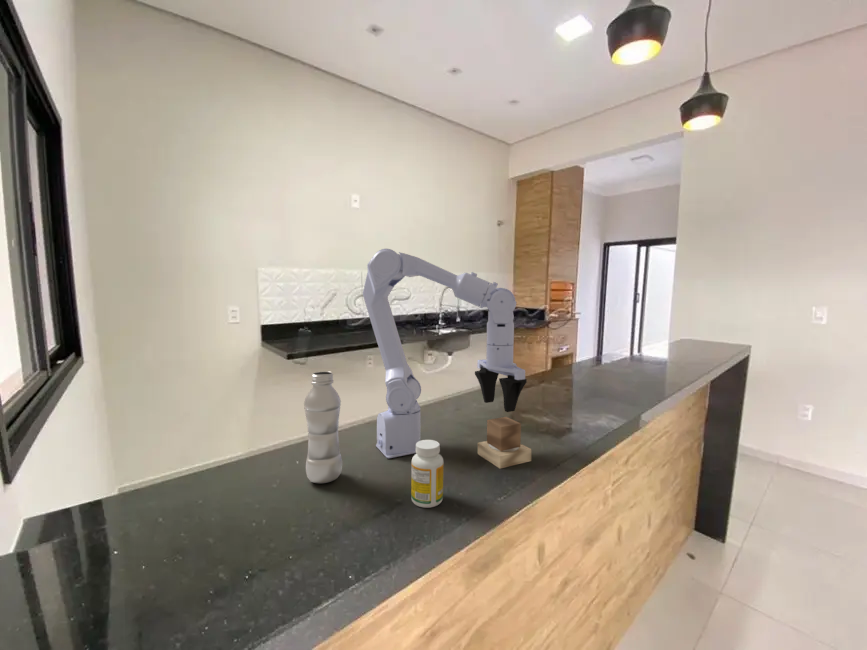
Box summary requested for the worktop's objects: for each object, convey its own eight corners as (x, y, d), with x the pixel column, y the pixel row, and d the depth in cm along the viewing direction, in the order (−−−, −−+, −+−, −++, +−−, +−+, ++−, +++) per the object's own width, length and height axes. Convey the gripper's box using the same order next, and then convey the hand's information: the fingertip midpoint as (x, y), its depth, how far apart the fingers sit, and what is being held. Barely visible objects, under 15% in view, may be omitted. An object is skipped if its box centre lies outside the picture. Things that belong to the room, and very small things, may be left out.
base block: (499, 468, 75) (500, 454, 75) (477, 453, 82) (477, 441, 82) (531, 460, 79) (531, 447, 78) (507, 447, 86) (507, 435, 85)
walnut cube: (501, 451, 77) (501, 426, 76) (486, 442, 81) (487, 419, 81) (520, 446, 79) (520, 423, 79) (505, 438, 83) (506, 416, 83)
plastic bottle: (350, 476, 71) (348, 372, 70) (322, 492, 66) (320, 378, 64) (325, 468, 75) (324, 368, 73) (297, 482, 69) (295, 374, 68)
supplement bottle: (417, 511, 60) (417, 452, 59) (406, 495, 65) (406, 440, 64) (448, 504, 62) (448, 447, 61) (435, 489, 67) (436, 436, 66)
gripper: (537, 347, 76) (536, 413, 77) (495, 340, 89) (494, 396, 90) (509, 349, 73) (508, 417, 74) (470, 341, 86) (469, 399, 87)
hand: (498, 406), depth 82 cm, fingers open, 7 cm apart
